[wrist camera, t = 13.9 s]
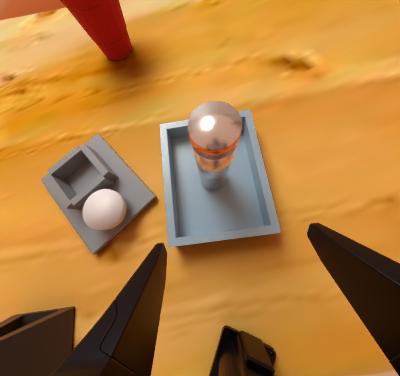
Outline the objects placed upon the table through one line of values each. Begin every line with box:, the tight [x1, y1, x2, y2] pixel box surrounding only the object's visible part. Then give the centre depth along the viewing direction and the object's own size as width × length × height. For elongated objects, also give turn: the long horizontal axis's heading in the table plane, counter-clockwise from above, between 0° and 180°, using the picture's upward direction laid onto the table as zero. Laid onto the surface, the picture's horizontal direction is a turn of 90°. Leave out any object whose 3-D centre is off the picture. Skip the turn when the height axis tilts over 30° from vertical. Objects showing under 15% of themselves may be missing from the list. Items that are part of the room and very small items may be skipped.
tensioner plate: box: [41, 134, 157, 254], centre depth 24 cm, size 16×12×4 cm
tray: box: [160, 110, 281, 247], centre depth 23 cm, size 18×14×4 cm
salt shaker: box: [187, 101, 242, 191], centre depth 18 cm, size 4×4×13 cm
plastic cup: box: [61, 0, 131, 60], centre depth 28 cm, size 11×11×12 cm
